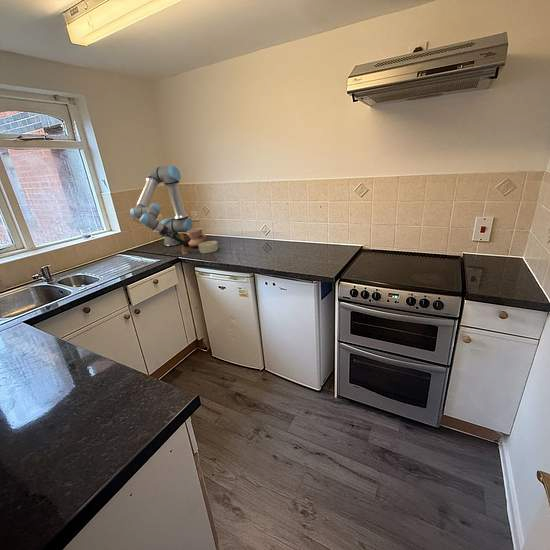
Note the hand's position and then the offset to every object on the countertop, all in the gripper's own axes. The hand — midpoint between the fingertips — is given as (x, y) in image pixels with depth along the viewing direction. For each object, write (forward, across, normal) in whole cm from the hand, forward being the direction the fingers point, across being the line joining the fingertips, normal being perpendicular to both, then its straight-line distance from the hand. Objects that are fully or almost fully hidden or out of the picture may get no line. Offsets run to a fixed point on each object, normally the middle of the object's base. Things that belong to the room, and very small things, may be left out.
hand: (188, 245), depth 232 cm
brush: (+2, 0, -6) cm, 6 cm away
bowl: (+13, +10, +5) cm, 17 cm away
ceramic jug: (+11, -12, +4) cm, 17 cm away
